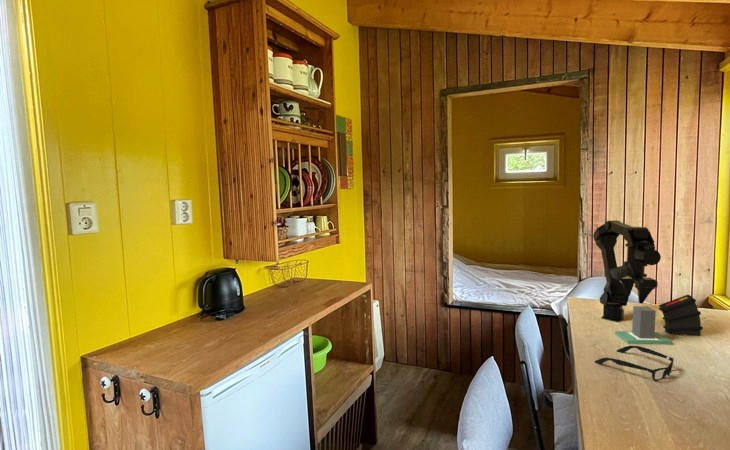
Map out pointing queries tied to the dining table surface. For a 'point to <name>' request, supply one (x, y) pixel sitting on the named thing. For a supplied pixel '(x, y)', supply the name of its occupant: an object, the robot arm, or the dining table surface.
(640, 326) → the block
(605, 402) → the dining table surface
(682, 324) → the magazine
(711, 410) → the dining table surface
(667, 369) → the glasses
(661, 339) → the board
